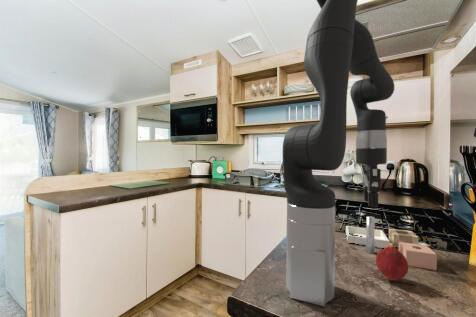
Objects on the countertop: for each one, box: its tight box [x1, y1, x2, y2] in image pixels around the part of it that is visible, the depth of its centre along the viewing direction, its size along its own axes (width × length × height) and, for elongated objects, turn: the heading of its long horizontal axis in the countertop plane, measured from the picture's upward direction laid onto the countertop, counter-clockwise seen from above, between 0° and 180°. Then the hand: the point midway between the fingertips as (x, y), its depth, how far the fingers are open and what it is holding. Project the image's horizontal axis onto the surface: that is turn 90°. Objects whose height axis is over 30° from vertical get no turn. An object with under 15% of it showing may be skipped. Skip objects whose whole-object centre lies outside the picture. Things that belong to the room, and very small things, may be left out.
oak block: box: [388, 228, 419, 247], centre depth 67 cm, size 6×6×4 cm
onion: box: [375, 243, 409, 282], centre depth 47 cm, size 6×6×8 cm
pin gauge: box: [365, 215, 376, 254], centre depth 62 cm, size 2×2×10 cm
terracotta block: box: [398, 242, 438, 271], centre depth 56 cm, size 6×6×4 cm
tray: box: [345, 225, 390, 249], centre depth 71 cm, size 11×11×2 cm
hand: (370, 204), depth 62 cm, fingers open, 8 cm apart
